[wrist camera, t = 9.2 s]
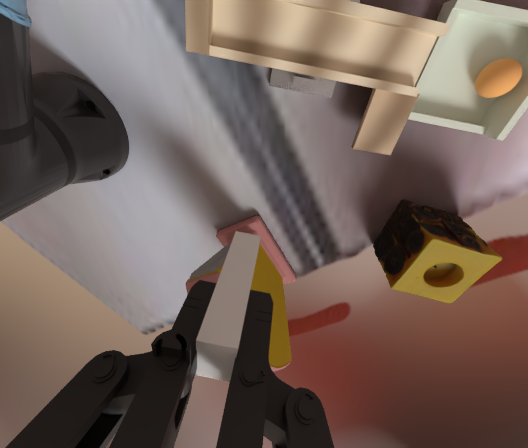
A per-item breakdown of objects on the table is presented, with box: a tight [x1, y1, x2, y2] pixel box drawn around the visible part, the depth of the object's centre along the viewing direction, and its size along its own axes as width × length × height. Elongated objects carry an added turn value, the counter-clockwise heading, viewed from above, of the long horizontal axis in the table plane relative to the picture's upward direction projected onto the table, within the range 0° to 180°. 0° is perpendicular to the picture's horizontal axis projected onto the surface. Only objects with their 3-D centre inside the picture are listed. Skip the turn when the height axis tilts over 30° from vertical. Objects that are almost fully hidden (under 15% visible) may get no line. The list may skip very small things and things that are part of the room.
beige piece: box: [185, 0, 450, 155], centre depth 25 cm, size 25×13×4 cm, turn 81°
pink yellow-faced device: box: [186, 215, 296, 371], centre depth 38 cm, size 22×9×22 cm, turn 29°
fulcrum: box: [270, 0, 360, 98], centre depth 25 cm, size 8×10×6 cm
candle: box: [373, 200, 502, 303], centre depth 36 cm, size 10×10×10 cm
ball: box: [475, 58, 522, 98], centre depth 25 cm, size 4×4×4 cm
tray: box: [408, 0, 528, 140], centre depth 25 cm, size 11×11×5 cm
